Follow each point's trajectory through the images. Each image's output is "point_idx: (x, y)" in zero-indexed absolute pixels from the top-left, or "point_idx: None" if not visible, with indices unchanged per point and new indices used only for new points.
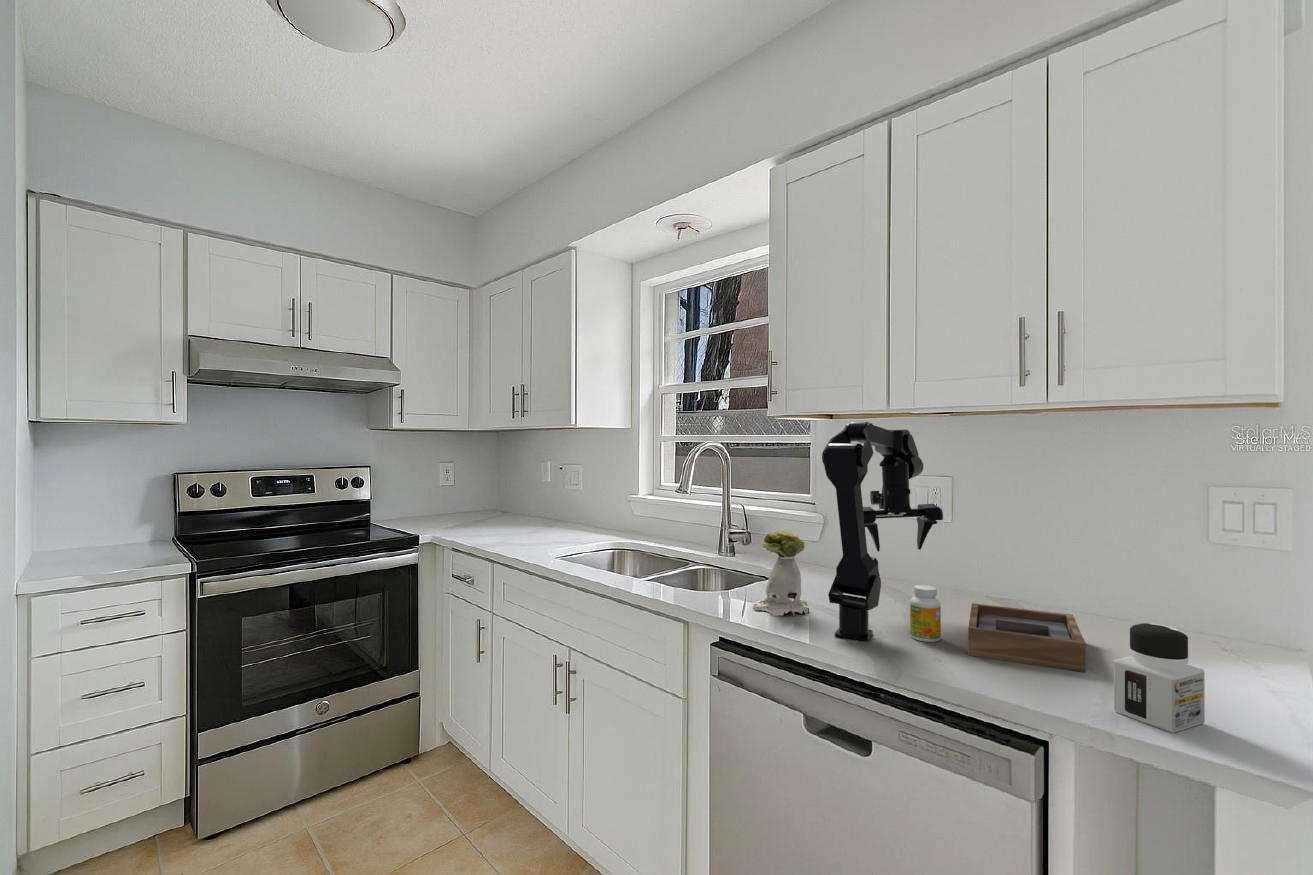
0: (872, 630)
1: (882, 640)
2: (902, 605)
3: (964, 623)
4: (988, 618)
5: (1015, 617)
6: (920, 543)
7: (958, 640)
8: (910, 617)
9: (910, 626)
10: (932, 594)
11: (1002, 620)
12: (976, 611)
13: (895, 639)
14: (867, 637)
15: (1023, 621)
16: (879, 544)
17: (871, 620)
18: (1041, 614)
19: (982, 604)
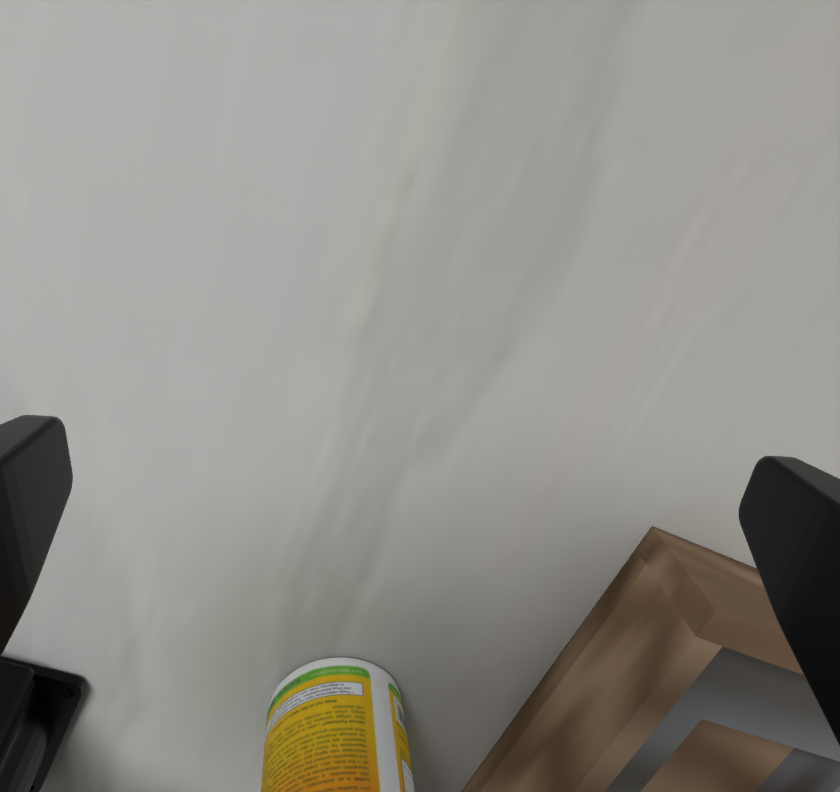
0: (81, 690)
1: (119, 756)
2: (456, 57)
3: (649, 474)
4: (679, 706)
5: None
6: (795, 641)
7: (472, 711)
8: (261, 789)
9: (264, 749)
10: None
11: (723, 725)
12: (631, 753)
13: (186, 736)
14: (39, 781)
15: (806, 726)
16: (10, 635)
17: (118, 467)
18: None
19: (758, 629)
